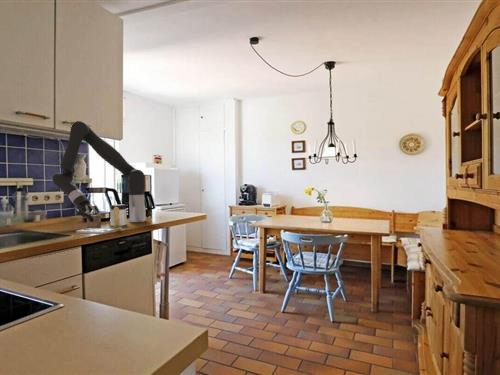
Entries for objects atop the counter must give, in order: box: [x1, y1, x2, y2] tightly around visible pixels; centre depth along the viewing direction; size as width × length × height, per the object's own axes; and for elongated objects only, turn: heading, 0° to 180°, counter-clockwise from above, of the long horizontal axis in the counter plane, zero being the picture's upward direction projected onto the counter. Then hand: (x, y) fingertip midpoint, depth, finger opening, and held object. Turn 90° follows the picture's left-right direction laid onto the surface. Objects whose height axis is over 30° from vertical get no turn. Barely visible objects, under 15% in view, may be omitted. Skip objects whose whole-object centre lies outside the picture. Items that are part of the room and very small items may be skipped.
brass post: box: [111, 207, 122, 231], centre depth 172 cm, size 4×4×12 cm
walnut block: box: [86, 214, 102, 229], centre depth 181 cm, size 5×5×7 cm
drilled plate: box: [75, 227, 115, 235], centre depth 165 cm, size 8×17×1 cm, turn 73°
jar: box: [109, 203, 128, 227], centre depth 190 cm, size 9×8×12 cm
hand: (96, 220), depth 181 cm, fingers closed on walnut block, 5 cm apart
